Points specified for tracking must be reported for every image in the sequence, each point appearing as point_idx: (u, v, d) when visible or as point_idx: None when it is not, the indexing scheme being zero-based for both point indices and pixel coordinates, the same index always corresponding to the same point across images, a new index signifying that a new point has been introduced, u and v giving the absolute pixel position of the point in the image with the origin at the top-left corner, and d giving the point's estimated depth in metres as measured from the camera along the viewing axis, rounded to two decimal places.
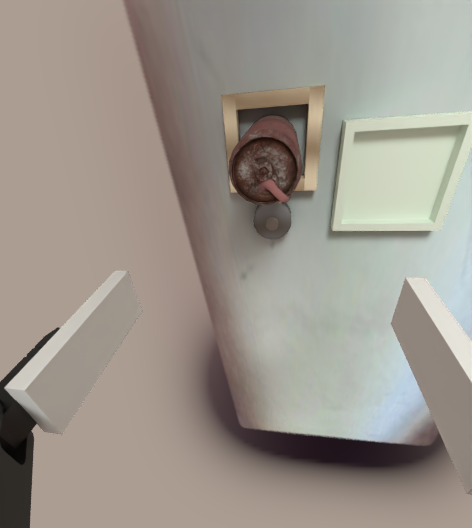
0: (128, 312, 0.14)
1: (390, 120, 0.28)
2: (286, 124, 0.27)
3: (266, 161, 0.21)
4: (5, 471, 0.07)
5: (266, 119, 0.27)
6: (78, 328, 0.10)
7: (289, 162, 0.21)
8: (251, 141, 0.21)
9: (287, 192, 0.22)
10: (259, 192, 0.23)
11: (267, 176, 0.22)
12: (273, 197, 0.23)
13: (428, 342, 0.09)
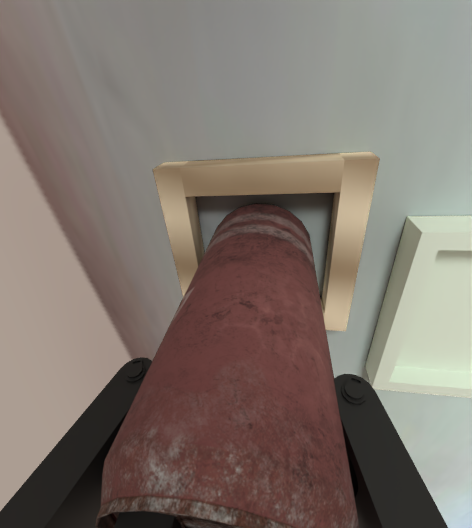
0: None
1: None
2: (292, 262, 0.11)
3: None
4: None
5: (244, 244, 0.11)
6: None
7: None
8: (154, 497, 0.05)
9: None
10: None
11: None
12: None
13: None
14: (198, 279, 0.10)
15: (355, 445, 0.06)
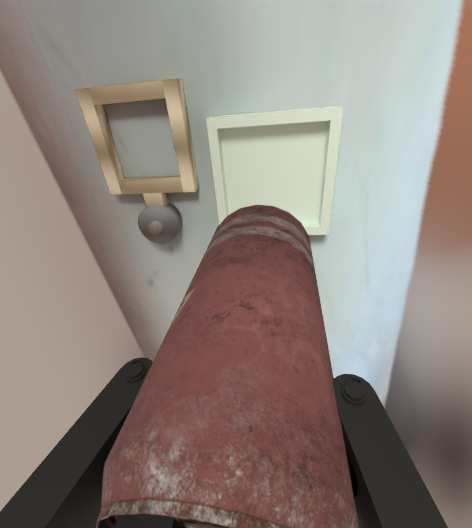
0: None
1: (250, 116, 0.26)
2: (292, 263, 0.11)
3: None
4: None
5: (244, 245, 0.11)
6: None
7: None
8: None
9: None
10: None
11: None
12: None
13: None
14: (198, 281, 0.10)
15: (355, 445, 0.06)
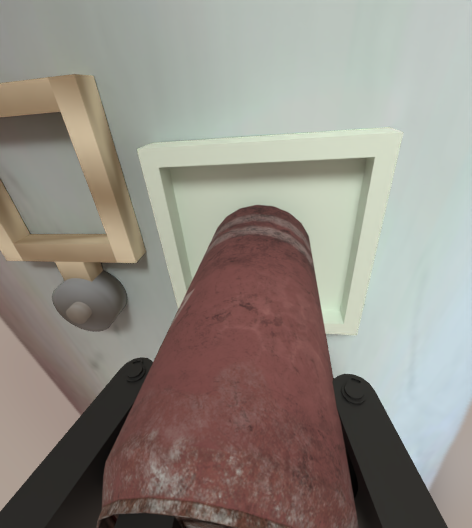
0: None
1: (218, 147, 0.14)
2: (292, 263, 0.11)
3: None
4: None
5: (244, 245, 0.11)
6: None
7: None
8: None
9: None
10: None
11: None
12: None
13: None
14: (198, 281, 0.10)
15: (355, 445, 0.06)
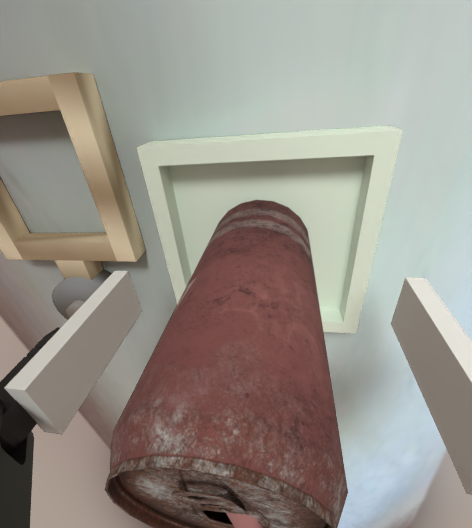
0: (128, 312, 0.14)
1: (217, 145, 0.14)
2: (290, 254, 0.11)
3: (223, 492, 0.06)
4: (5, 471, 0.07)
5: (244, 237, 0.12)
6: (78, 328, 0.10)
7: (305, 507, 0.06)
8: None
9: None
10: (210, 521, 0.08)
11: (232, 509, 0.07)
12: None
13: (428, 342, 0.09)
14: (200, 270, 0.11)
15: None
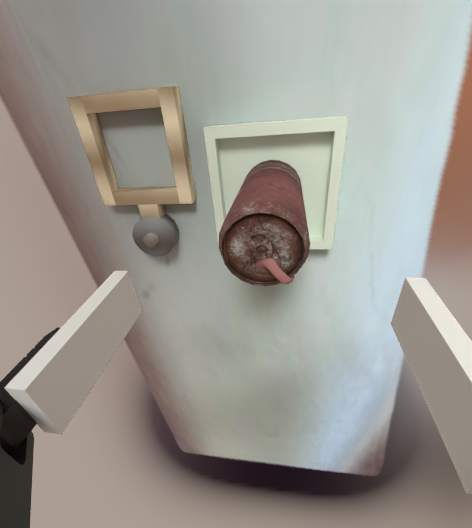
0: (128, 312, 0.14)
1: (249, 126, 0.25)
2: (289, 178, 0.22)
3: (265, 238, 0.17)
4: (5, 471, 0.07)
5: (265, 171, 0.23)
6: (78, 328, 0.10)
7: (294, 240, 0.17)
8: (246, 216, 0.16)
9: (291, 273, 0.18)
10: (256, 271, 0.18)
11: (266, 255, 0.18)
12: (274, 277, 0.18)
13: (428, 342, 0.09)
14: (244, 185, 0.22)
15: None
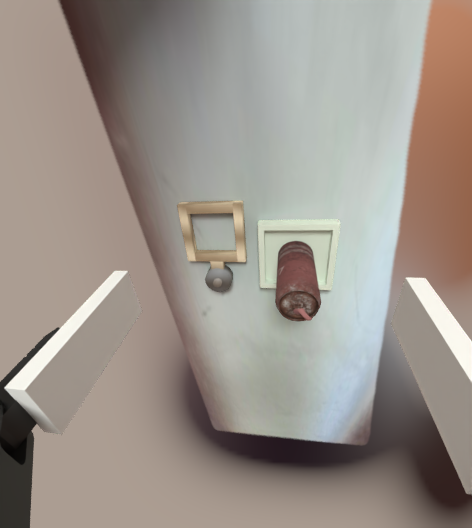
0: (128, 312, 0.14)
1: (284, 225, 0.44)
2: (308, 259, 0.41)
3: (299, 300, 0.36)
4: (5, 471, 0.07)
5: (295, 255, 0.42)
6: (78, 328, 0.10)
7: (313, 301, 0.36)
8: None
9: (311, 315, 0.37)
10: (294, 314, 0.37)
11: (300, 307, 0.37)
12: (302, 317, 0.37)
13: (428, 342, 0.09)
14: (284, 264, 0.41)
15: None
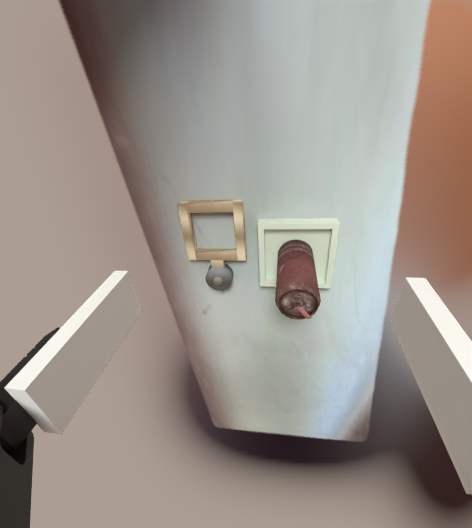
0: (128, 312, 0.14)
1: (284, 224, 0.44)
2: (308, 258, 0.41)
3: (299, 298, 0.36)
4: (5, 471, 0.07)
5: (295, 253, 0.42)
6: (78, 328, 0.10)
7: (313, 300, 0.36)
8: (291, 289, 0.36)
9: (311, 313, 0.37)
10: (294, 312, 0.38)
11: (299, 305, 0.37)
12: (302, 315, 0.38)
13: (428, 342, 0.09)
14: (284, 262, 0.41)
15: None
